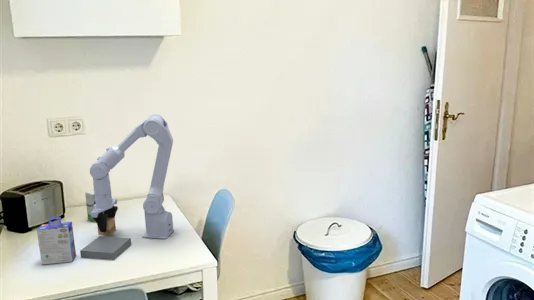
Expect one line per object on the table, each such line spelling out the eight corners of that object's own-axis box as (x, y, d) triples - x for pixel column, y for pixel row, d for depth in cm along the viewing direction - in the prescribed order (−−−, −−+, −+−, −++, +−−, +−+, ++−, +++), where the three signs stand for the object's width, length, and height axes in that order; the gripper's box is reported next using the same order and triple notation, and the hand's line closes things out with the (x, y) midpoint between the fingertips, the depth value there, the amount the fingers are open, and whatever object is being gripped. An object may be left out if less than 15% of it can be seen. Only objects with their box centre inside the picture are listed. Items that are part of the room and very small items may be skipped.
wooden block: (116, 230, 173) (114, 217, 172) (109, 235, 168) (108, 222, 167) (105, 229, 174) (103, 217, 173) (98, 234, 169) (96, 221, 168)
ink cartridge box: (76, 254, 158) (71, 214, 154) (73, 262, 152) (68, 220, 149) (45, 257, 156) (40, 217, 153) (41, 265, 151) (35, 223, 147)
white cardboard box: (94, 222, 185) (91, 194, 183) (87, 220, 188) (84, 192, 186) (113, 216, 192) (110, 188, 189) (106, 213, 195) (103, 186, 192)
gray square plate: (131, 245, 164) (130, 238, 164) (113, 261, 153) (112, 253, 152) (100, 243, 167) (99, 236, 166) (81, 258, 155) (80, 250, 155)
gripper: (103, 187, 175) (107, 220, 178) (81, 199, 161) (85, 236, 165) (120, 187, 174) (124, 221, 177) (99, 200, 160) (104, 237, 163)
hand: (107, 228), depth 171 cm, fingers closed on wooden block, 4 cm apart
